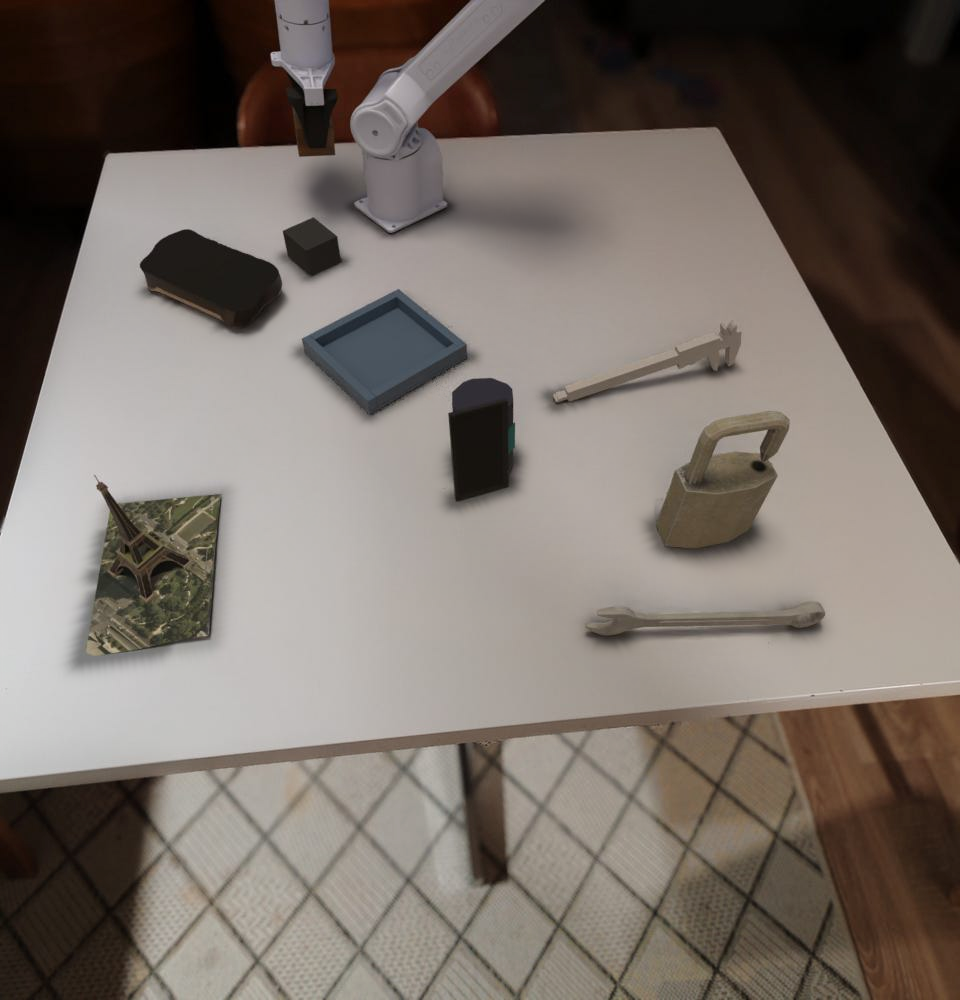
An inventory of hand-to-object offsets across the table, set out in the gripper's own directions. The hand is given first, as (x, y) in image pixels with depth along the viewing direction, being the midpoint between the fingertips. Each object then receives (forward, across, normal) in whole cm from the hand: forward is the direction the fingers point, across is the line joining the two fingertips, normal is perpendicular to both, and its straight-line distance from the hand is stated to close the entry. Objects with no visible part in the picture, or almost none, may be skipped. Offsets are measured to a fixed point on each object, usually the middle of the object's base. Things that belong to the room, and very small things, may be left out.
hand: (314, 133), depth 94 cm
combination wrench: (+5, +70, +25) cm, 74 cm away
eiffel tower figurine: (+8, +55, -20) cm, 59 cm away
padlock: (+5, +60, +29) cm, 67 cm away
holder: (+7, +32, +4) cm, 33 cm away
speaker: (+6, +49, +10) cm, 50 cm away
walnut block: (+1, 0, 0) cm, 1 cm away
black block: (+8, +13, -2) cm, 16 cm away
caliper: (+6, +42, +30) cm, 51 cm away
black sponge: (+9, +17, -14) cm, 24 cm away
